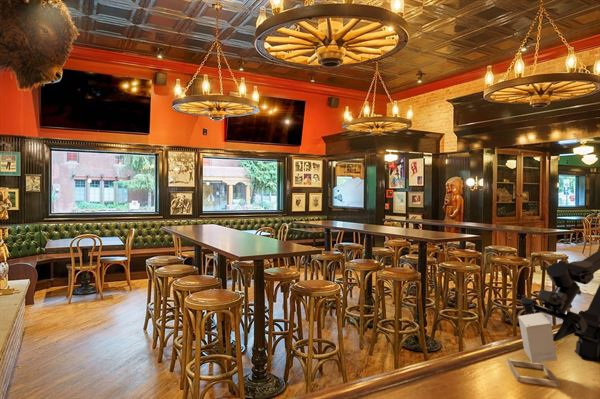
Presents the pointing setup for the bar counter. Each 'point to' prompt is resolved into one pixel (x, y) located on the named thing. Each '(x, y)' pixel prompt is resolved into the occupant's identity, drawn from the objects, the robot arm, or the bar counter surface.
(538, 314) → the supplement box
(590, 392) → the bar counter surface
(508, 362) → the tray rim
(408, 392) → the bar counter surface
